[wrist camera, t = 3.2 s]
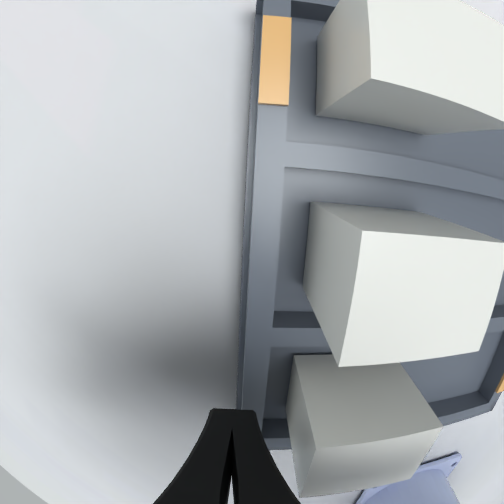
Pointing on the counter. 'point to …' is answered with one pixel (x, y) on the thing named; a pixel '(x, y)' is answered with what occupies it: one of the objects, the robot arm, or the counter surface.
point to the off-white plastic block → (412, 66)
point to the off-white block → (398, 283)
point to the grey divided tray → (352, 193)
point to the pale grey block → (355, 425)
